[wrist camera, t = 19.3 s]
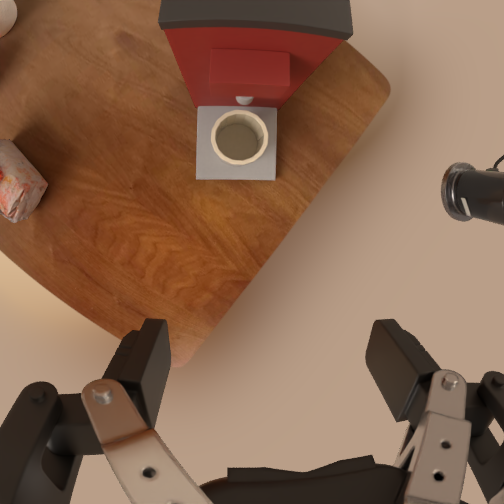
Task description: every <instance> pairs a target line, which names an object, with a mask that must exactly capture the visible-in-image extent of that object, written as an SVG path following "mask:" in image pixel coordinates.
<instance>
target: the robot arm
mask: <svg viewBox="0 0 504 504" xmlns="http://www.w3.org/2000/svg"><path fill="white" fill-rule="evenodd" d="M503 159H504V155H503V156H502V157H501V158H499V160H497V161H496V163H495V164H494V167H493V168H489V169H487V170H486V171H482V170H470V169H461V170H459V171H458V172H457V173H456V174H455V175H454V177H453V179H452V182H451V187H450V197H451V202H452V205H453V207H454V209H455V210H456V211H457V212H458V213H459V214H461V215H464V216H470V217H474V218H478V219H482V220H486V221H489V222H493V223H497V224H501V225H504V172H499V171H498V169H497V165H498V164H499V163H500V162H501V161H502V160H503ZM365 358H366V365H367V367H368V369H369V371H370V372H371V374H372V376H373V378H374V380H375V382H376V384H377V386H378V388H379V390H380V391H381V393H382V395H383V397H384V399H385V401H386V403H387V405H388V407H389V408H390V411H391V413H392V415H393V416H394V418H395V420H396V422H400V421H405V420H408V421H409V422H410V423H409V425H408V427H407V429H406V432H405V435H404V438H403V441H402V444H401V447H400V450H399V452H398V455H397V458H396V460H395V463H394V465H393V466H390V465H386V464H375V462H374V459H373V456H372V455H368V456H363V457H358V458H352V459H346V460H340V461H337V462H334V463H332V464H329V465H326V466H324V467H320V468H318V469H315V470H312V471H308V472H294V471H287V470H279V469H272V468H266V467H261V468H228V475H227V477H224V478H219V479H216V480H212V481H209V482H207V483H204V484H202V485H200V486H198V485H197V484H196V483H195V482H194V481H193V480H192V478H191V477H190V476H189V475H188V473H187V472H186V471H185V470H184V469H183V467H182V466H181V464H180V463H179V462H178V461H177V459H176V458H175V457H174V456H173V454H172V453H171V451H170V450H169V449H168V447H167V446H166V445H165V443H164V442H163V441H162V439H161V438H160V436H159V435H158V433H157V432H156V431H155V430H154V427H155V423H156V419H157V415H158V412H159V408H160V404H161V400H162V396H163V392H164V389H165V385H166V381H167V377H168V374H169V370H170V365H171V351H170V343H169V335H168V326H167V321H166V320H165V319H149V318H147V319H145V321H144V323H143V325H142V327H141V329H140V331H136V330H132V331H131V332H130V333H128V334H127V335H126V336H125V337H123V339H122V341H121V343H120V345H119V348H117V350H116V352H115V355H114V356H113V358H112V360H111V362H110V364H109V365H108V368H107V369H106V371H105V373H104V375H103V377H102V379H99V380H95V381H92V382H90V383H89V384H87V385H86V386H85V387H84V389H83V390H82V393H79V394H58V392H57V389H56V388H55V387H54V386H53V385H52V384H50V383H48V382H35V383H32V384H30V385H28V386H26V387H25V388H24V389H23V390H22V392H21V393H20V395H19V397H18V398H17V400H16V401H15V403H14V405H13V406H12V408H11V410H10V411H9V413H8V415H7V417H6V418H5V420H4V422H3V424H2V425H1V427H0V504H70V500H71V496H72V492H73V488H74V485H75V482H76V478H77V475H78V471H79V468H80V465H81V461H82V458H83V455H96V454H97V455H98V454H105V456H106V458H107V460H108V462H109V464H110V465H111V468H112V470H113V472H114V474H115V475H116V477H117V479H118V481H119V483H120V484H121V486H122V488H123V490H124V492H125V493H126V495H127V497H128V498H129V500H130V502H131V503H132V504H468V503H466V502H464V501H462V500H460V498H461V493H462V489H463V484H464V478H465V473H466V467H467V461H468V463H469V465H470V467H471V469H472V471H473V473H474V475H475V477H476V479H477V481H478V484H479V486H480V488H481V490H482V492H483V494H484V496H485V498H486V501H487V503H488V504H504V441H503V443H502V445H501V446H499V444H498V442H497V441H496V439H495V437H494V436H493V434H492V433H491V431H490V430H489V428H488V427H489V425H490V424H491V422H492V421H493V419H494V418H495V419H496V421H497V422H498V424H499V425H500V427H501V428H502V430H503V432H504V374H502V373H500V372H495V371H489V372H487V373H485V374H484V377H483V378H482V380H481V382H480V383H466V381H465V379H464V378H463V377H462V376H461V375H460V374H458V373H457V372H455V371H452V370H442V369H441V368H440V367H439V366H438V364H437V363H436V362H435V361H434V359H433V358H432V357H431V356H430V355H429V353H428V352H427V351H425V348H424V347H423V346H422V345H420V342H419V341H418V340H417V339H416V338H415V336H413V335H412V334H410V333H409V332H407V331H406V330H403V329H402V328H401V327H400V326H399V324H398V323H397V322H396V321H395V320H394V319H383V320H376V321H375V322H374V324H373V327H372V331H371V335H370V339H369V343H368V346H367V350H366V356H365Z"/></svg>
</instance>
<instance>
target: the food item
mask: <svg viewBox="0 0 504 504" xmlns="http://www.w3.org/2000/svg"><path fill="white" fill-rule="evenodd" d="M47 186H48V183H47V182H46V181H45V179H44V178H43V177H42V176H41V174H40V173H39V172H38V171H37V170H36V169H35V167H34V166H33V165H32V164H31V163H30V162H29V161H28V160H27V158H26V157H25V156H24V155H23V154H22V152H21V151H20V150H19V149H18V148H17V147H16V146H15V145H14V144H13V142H12V141H11V140H10V139H9V140H6V139H4V140H0V214H2V215H3V216H4V217H5V218H7V219H9V220H11V222H13V223H15V222H18V221H21V220H22V219H28V217H29V215H30V214H31V213H32V212H33V210H34V209H35V208H36V206H37V205H38V203H39V202H40V199H41V197H42V195H43V194H44V192H45V190H46V188H47Z"/></svg>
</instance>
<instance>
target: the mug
mask: <svg viewBox="0 0 504 504" xmlns="http://www.w3.org/2000/svg"><path fill="white" fill-rule="evenodd" d="M16 18H17V7H16V4H15V2H14V0H0V38H1V37H2V36H4V35H5V34H6V33H8V32H9V30H10V29H11V28H12V27H13V25H14V23H15V21H16Z"/></svg>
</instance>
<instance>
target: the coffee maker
mask: <svg viewBox="0 0 504 504" xmlns="http://www.w3.org/2000/svg"><path fill="white" fill-rule="evenodd" d="M158 23H159V25H160V28H161V29H162V30H164V31H165V34H166V36H167V39H168V41H169V44H170V46H171V48H172V51H173V53H174V56H175V58H176V61H177V63H178V66H179V68H180V71H181V73H182V76H183V78H184V81H185V83H186V86H187V88H188V91H189V93H190V96H191V98H192V101H193V103H194V106H195V108H198V120H197V155H196V179H241V180H275V179H276V134H277V110H279V109H280V108H281V107H282V105H283V104H284V103H285V102H286V101H287V100H288V99H289V98H290V96H291V95H292V94H293V93H294V92H295V91H296V90H297V89H298V88H299V87H300V85H301V84H302V83H303V82H304V81H305V80H306V79H307V78H308V77H309V76H310V75H311V74H312V72H313V71H314V70H315V69H316V68H317V67H318V66H319V65H320V64H321V63H322V62H323V61H324V60H325V59H326V58H327V57H328V56H329V55H330V54H331V52H332V51H333V50H334V49H335V48H336V47H337V46H338V45H339V44H340V43H341V42H342V41H343V40H348V39H349V38H350V37H351V36H352V35H353V26H352V17H351V8H350V1H349V0H161V6H160V12H159V19H158ZM233 110H247V111H250V112H252V113H254V114H256V115H258V116H259V117H260V119H261V120H262V121H263V122H264V123H265V125H266V128H267V131H268V145H267V147H266V149H265V151H264V153H263V154H262V155H261V156H260V157H259V158H258V159H256V160H255V161H254V162H252V163H250V164H247V165H244V166H241V167H233V166H229V165H226V164H225V163H223V162H221V160H219V158H218V157H217V156H216V154H215V151H214V149H213V146H212V143H211V132H212V128H213V126H214V124H215V123H216V121H217V120H218V119H219V118H220V117H221V116H222V115H224V114H225V113H227V112H230V111H233Z"/></svg>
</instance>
